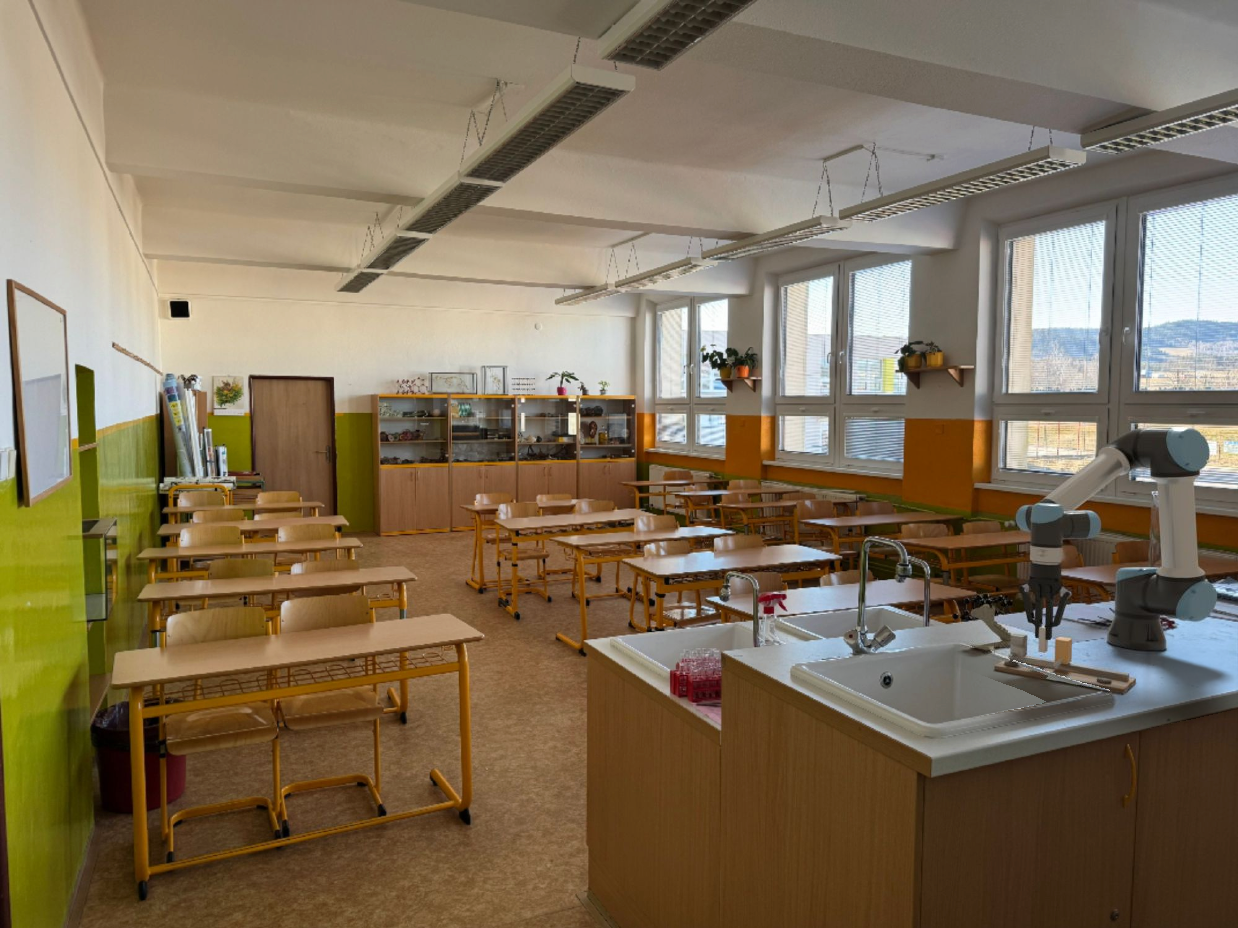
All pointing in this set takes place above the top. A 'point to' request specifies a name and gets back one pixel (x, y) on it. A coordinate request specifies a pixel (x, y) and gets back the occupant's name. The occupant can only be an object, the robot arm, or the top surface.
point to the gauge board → (1062, 669)
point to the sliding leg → (1062, 651)
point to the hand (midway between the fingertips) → (1042, 651)
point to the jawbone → (991, 627)
